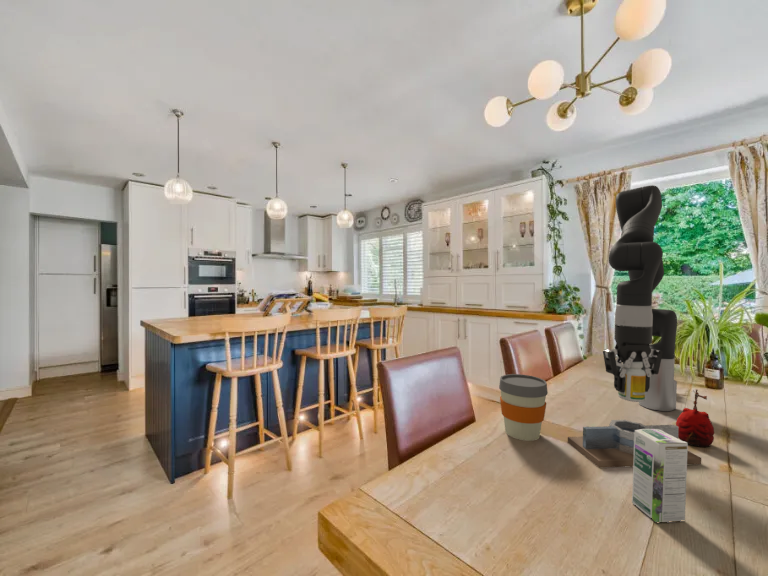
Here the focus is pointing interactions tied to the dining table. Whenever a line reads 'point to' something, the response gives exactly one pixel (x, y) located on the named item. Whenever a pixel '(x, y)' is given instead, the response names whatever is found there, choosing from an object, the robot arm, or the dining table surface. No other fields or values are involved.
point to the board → (614, 455)
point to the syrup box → (659, 475)
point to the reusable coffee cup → (523, 405)
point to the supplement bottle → (634, 383)
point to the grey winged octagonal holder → (619, 435)
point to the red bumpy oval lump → (695, 426)
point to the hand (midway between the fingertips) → (631, 390)
